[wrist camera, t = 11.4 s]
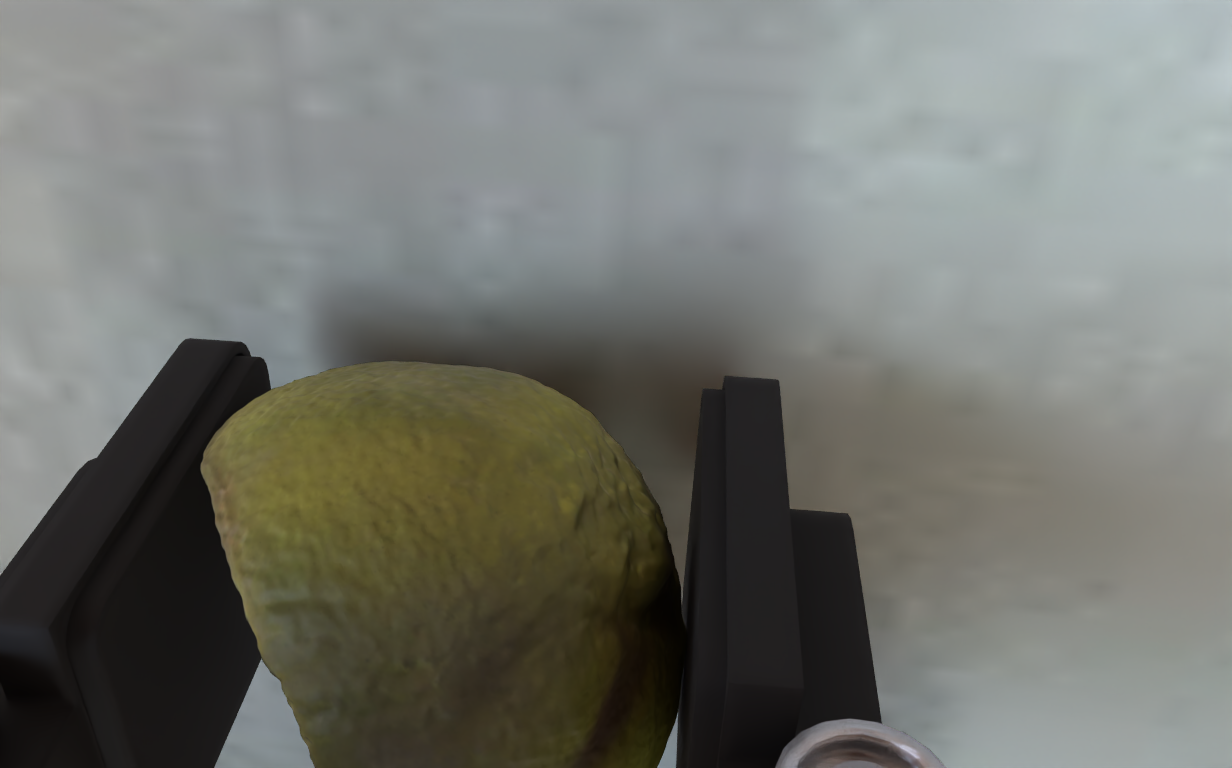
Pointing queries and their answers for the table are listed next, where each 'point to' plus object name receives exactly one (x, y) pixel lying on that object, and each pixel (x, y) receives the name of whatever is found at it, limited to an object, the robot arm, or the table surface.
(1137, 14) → the table surface
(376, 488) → the lime
